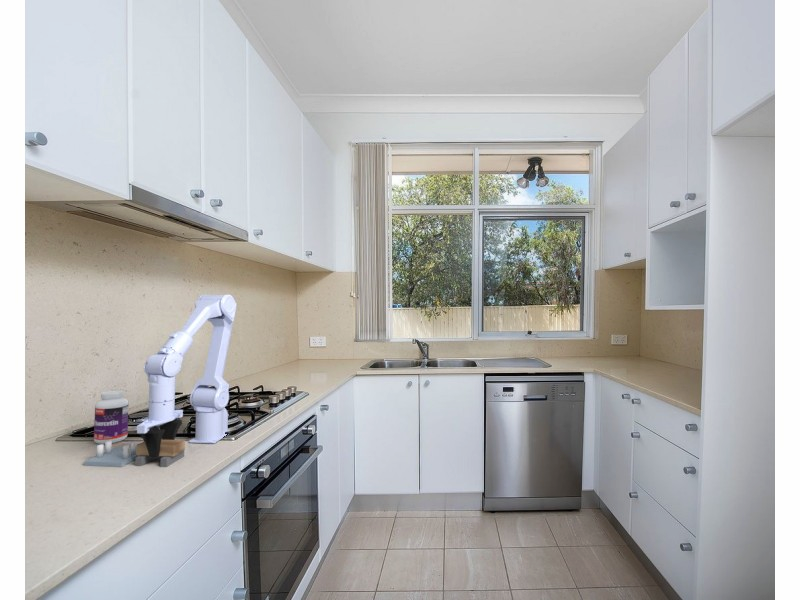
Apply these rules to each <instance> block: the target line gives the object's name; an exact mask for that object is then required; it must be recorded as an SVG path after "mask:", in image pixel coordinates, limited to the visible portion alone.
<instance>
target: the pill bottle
mask: <svg viewBox="0 0 800 600" xmlns="http://www.w3.org/2000/svg"><path fill="white" fill-rule="evenodd" d="M124 396H125V390H119V389H117V390H108V391H107V390H106V391H103V392H101V393H100V399H101V400H98V401H97V402H96V404H95V406H94V425H93V427H94V428H93V430H94V431H93V442H94V443H96V444H97V445H99V444H104V445H105V442H106V441H112V444H115V443H119V442H122V441H123V440H125V439H126V438H127V437H128V434H129V433H128V432H129V429H128V428H129V426H128V425H129V400H128V399H127V398H124Z"/></svg>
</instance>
